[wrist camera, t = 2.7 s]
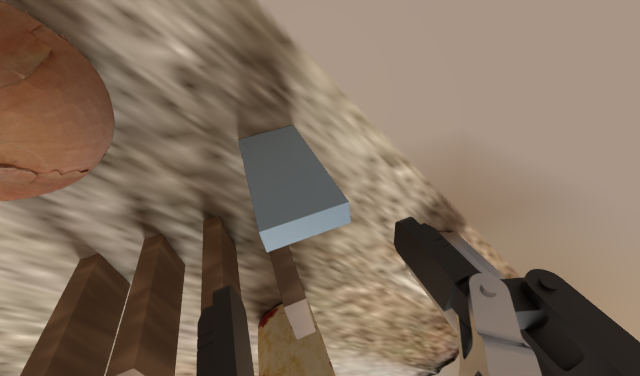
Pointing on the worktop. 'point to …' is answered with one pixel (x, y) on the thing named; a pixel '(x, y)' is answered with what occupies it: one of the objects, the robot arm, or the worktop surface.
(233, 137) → the worktop surface
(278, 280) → the domino
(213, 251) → the domino
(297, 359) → the food model
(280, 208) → the domino
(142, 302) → the domino
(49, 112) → the onion
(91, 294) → the domino
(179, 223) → the worktop surface
